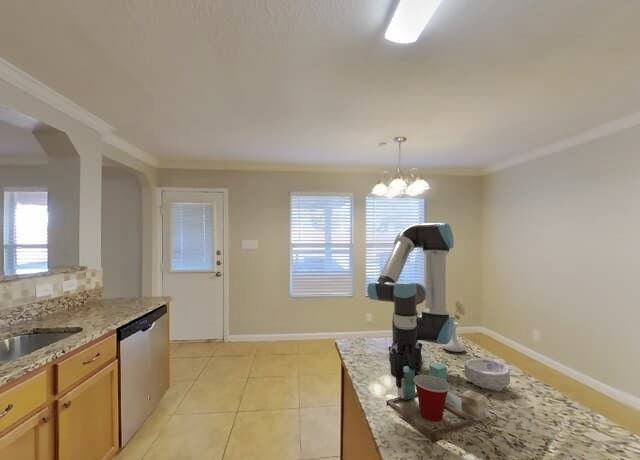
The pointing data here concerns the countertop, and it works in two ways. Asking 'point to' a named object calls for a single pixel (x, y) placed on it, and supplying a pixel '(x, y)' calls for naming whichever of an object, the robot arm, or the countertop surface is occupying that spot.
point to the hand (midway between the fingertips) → (406, 394)
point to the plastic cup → (431, 396)
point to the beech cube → (473, 403)
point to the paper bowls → (487, 373)
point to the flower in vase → (454, 342)
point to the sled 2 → (452, 399)
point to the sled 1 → (432, 436)
